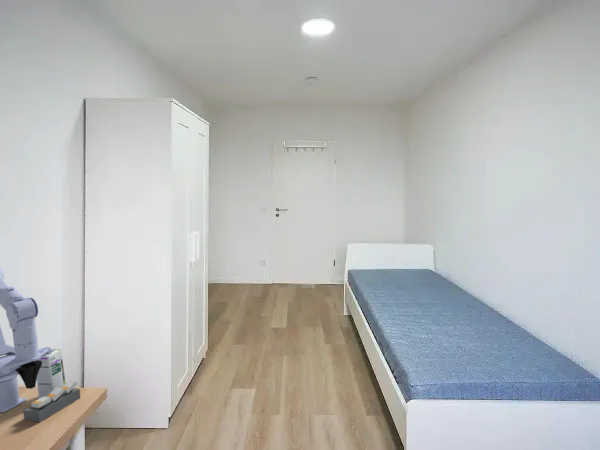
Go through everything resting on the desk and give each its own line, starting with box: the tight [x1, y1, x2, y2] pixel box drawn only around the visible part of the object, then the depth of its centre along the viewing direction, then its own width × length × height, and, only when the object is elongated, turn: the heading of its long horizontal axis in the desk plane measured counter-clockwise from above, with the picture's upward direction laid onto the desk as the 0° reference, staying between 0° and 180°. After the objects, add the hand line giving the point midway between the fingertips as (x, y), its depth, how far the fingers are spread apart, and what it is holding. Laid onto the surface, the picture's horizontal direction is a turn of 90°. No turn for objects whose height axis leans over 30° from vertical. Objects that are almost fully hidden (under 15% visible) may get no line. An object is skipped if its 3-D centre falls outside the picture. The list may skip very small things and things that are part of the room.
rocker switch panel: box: [22, 387, 81, 423], centre depth 137 cm, size 6×15×4 cm, turn 161°
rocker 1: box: [30, 397, 51, 408], centre depth 132 cm, size 3×4×1 cm
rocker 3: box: [61, 380, 78, 393], centre depth 141 cm, size 3×4×1 cm
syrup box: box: [36, 348, 66, 399], centre depth 146 cm, size 6×6×14 cm
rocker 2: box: [46, 388, 65, 401], centre depth 136 cm, size 3×4×1 cm
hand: (30, 387), depth 130 cm, fingers closed
